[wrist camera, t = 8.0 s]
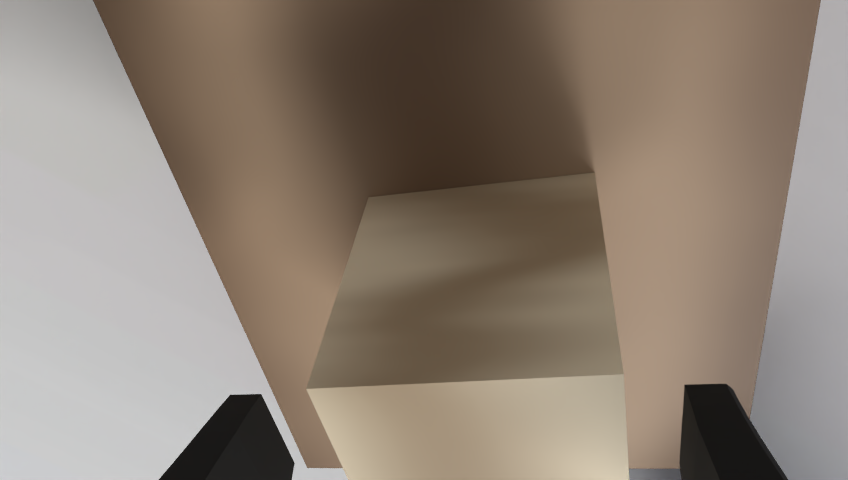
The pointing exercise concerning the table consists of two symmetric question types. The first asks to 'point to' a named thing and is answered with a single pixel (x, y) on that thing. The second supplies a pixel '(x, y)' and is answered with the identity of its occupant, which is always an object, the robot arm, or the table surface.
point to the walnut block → (486, 158)
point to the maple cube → (476, 339)
